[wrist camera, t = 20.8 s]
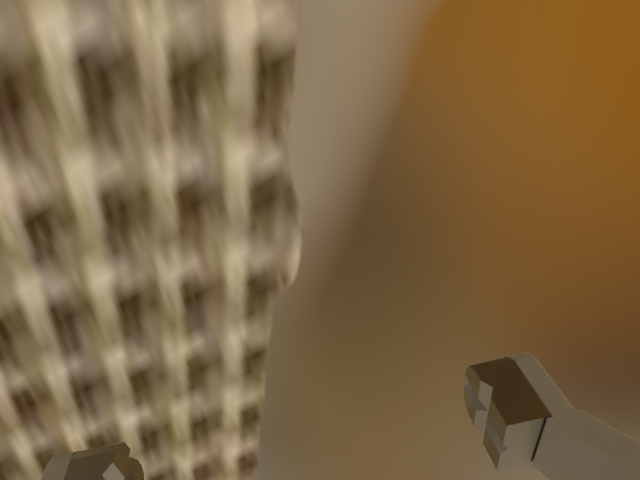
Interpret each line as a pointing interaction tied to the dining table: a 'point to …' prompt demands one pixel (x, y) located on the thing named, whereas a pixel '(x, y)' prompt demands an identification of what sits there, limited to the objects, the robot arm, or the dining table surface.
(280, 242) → the dining table surface
